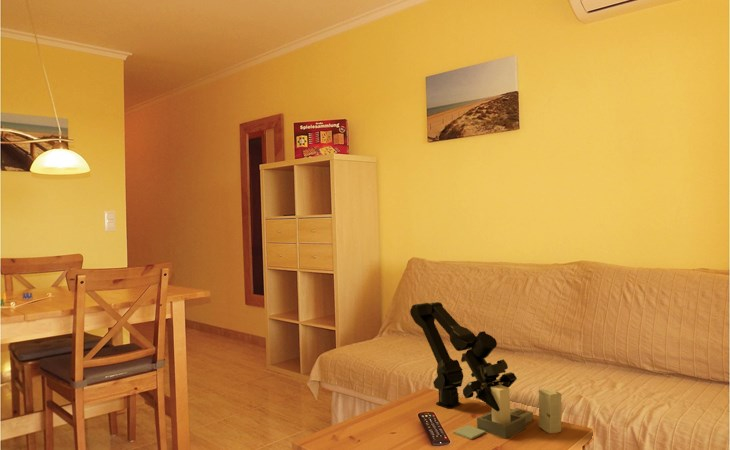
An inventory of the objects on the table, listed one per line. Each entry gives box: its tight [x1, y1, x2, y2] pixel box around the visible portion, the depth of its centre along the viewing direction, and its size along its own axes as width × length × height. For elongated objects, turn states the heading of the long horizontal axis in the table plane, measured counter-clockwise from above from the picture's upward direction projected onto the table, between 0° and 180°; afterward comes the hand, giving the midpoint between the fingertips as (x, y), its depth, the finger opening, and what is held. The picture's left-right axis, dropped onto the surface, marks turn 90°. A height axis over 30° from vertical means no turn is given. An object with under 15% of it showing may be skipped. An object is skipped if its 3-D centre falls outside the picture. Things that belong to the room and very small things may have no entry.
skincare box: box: [538, 387, 562, 434], centre depth 168 cm, size 6×4×12 cm
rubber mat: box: [452, 424, 487, 440], centre depth 168 cm, size 7×7×1 cm
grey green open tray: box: [476, 407, 534, 440], centre depth 173 cm, size 10×18×4 cm, turn 130°
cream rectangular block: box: [490, 385, 511, 425], centre depth 170 cm, size 4×4×13 cm
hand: (503, 409), depth 169 cm, fingers closed on cream rectangular block, 4 cm apart
